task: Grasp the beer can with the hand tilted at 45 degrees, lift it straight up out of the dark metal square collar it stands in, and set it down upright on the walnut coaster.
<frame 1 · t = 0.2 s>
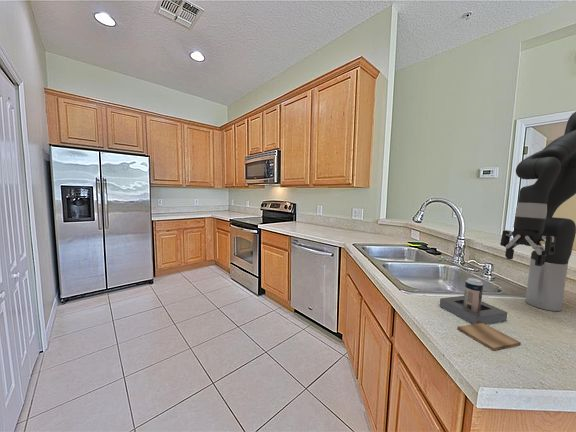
hand: (523, 262, 82), 18 cm above the worktop, tool pointing down, fingers open, 8 cm apart
beer can: (471, 313, 81), resting in metal collar
metal collar: (471, 313, 81), on the worktop
walnut coaster: (487, 336, 68), on the worktop
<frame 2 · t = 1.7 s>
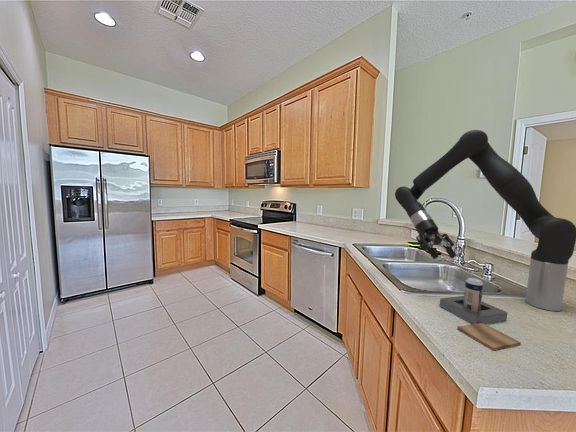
hand: (445, 257, 90), 17 cm above the worktop, tool tilted 45°, fingers open, 8 cm apart
nothing on the worktop moved.
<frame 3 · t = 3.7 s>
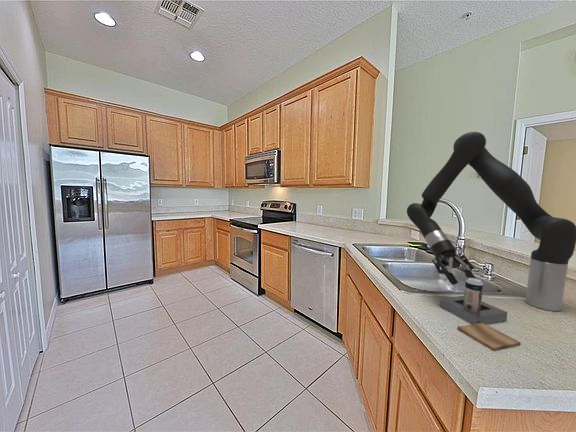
hand: (464, 283, 83), 10 cm above the worktop, tool tilted 45°, fingers open, 8 cm apart
nothing on the worktop moved.
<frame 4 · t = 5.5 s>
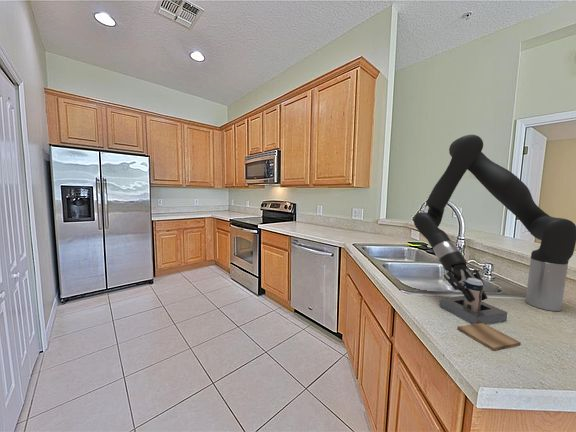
hand: (478, 300, 79), 6 cm above the worktop, tool tilted 45°, fingers closed on beer can, 4 cm apart
beer can: (471, 313, 81), resting in metal collar, touching gripper
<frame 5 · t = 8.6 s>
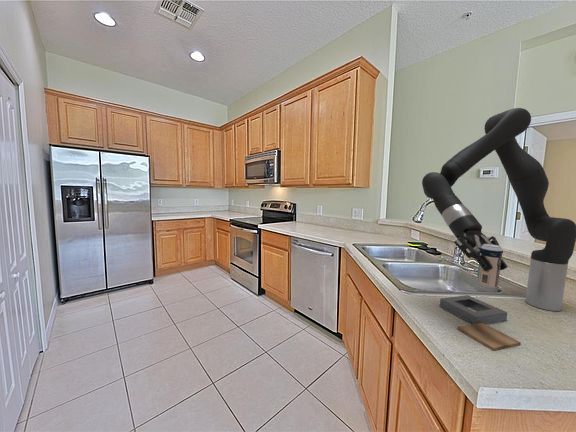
hand: (496, 269, 66), 20 cm above the worktop, tool tilted 45°, fingers closed on beer can, 4 cm apart
beer can: (486, 286, 68), point 14 cm above the worktop, touching gripper
when the fingers open (8 cm above the worktop, at t = 11.9 s): beer can drops 1 cm, resting on walnut coaster.
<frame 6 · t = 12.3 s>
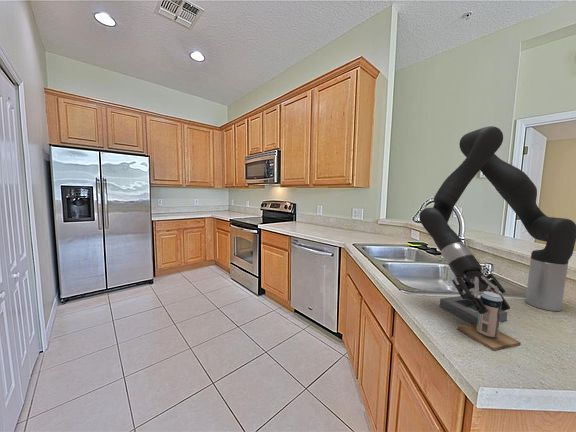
hand: (495, 311, 66), 8 cm above the worktop, tool tilted 45°, fingers open, 8 cm apart
beer can: (486, 334, 68), point 1 cm above the worktop, touching walnut coaster
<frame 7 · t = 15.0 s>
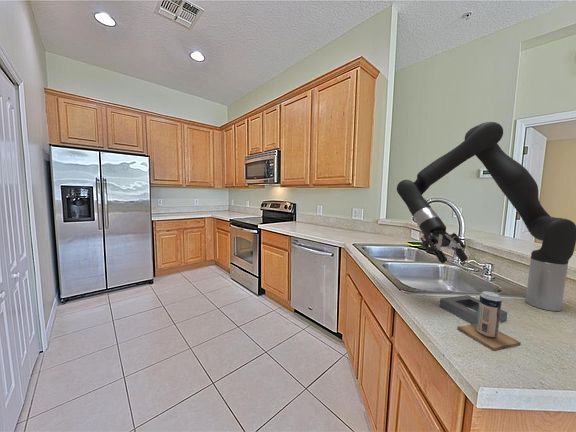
hand: (455, 261, 78), 19 cm above the worktop, tool tilted 45°, fingers open, 8 cm apart
nothing on the worktop moved.
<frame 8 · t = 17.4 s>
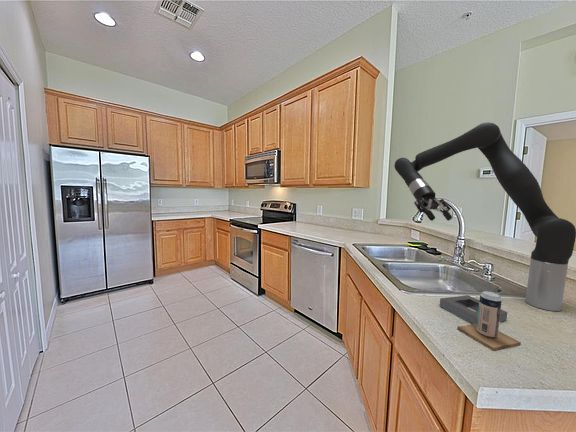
hand: (441, 219, 95), 31 cm above the worktop, tool tilted 45°, fingers open, 8 cm apart
nothing on the worktop moved.
at the end: beer can inside the target area on the walnut coaster (0.2 cm from its centre), point 0.6 cm above the walnut coaster's base; beer can tilted 0°; the gripper is holding nothing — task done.
